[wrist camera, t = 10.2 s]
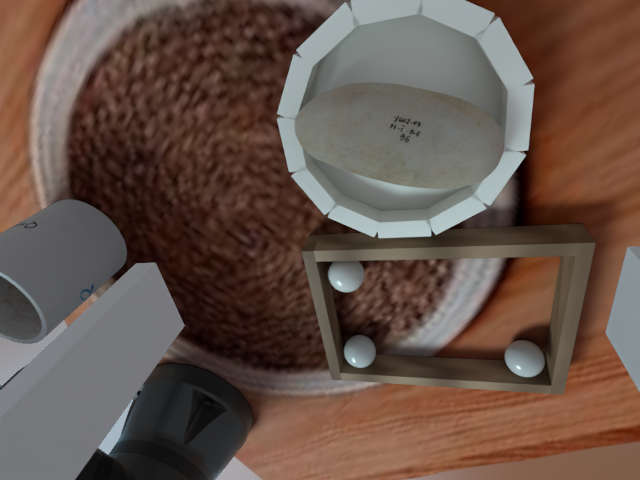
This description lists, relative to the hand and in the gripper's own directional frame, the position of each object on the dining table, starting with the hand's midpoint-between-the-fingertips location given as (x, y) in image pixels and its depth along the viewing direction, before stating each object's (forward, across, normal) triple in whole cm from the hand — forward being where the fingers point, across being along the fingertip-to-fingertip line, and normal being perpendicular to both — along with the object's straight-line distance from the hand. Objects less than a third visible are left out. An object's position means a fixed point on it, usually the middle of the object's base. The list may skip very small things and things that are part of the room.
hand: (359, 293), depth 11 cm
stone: (+17, 0, 0) cm, 17 cm away
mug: (+19, -32, -8) cm, 38 cm away
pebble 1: (+18, -4, -11) cm, 22 cm away
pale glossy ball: (+18, -4, -20) cm, 27 cm away
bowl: (+18, 0, 0) cm, 18 cm away
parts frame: (+18, +2, -16) cm, 24 cm away
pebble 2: (+18, +10, -20) cm, 29 cm away
